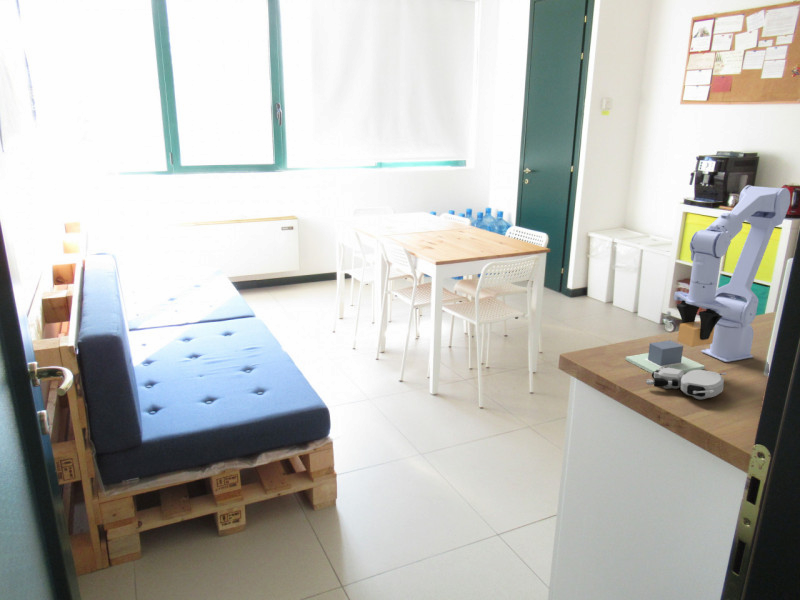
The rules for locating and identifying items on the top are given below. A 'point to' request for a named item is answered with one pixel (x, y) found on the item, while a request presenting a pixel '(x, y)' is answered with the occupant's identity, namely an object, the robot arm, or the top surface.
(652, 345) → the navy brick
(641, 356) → the baseplate
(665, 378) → the robot toy
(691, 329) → the orange brick
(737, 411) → the top surface
